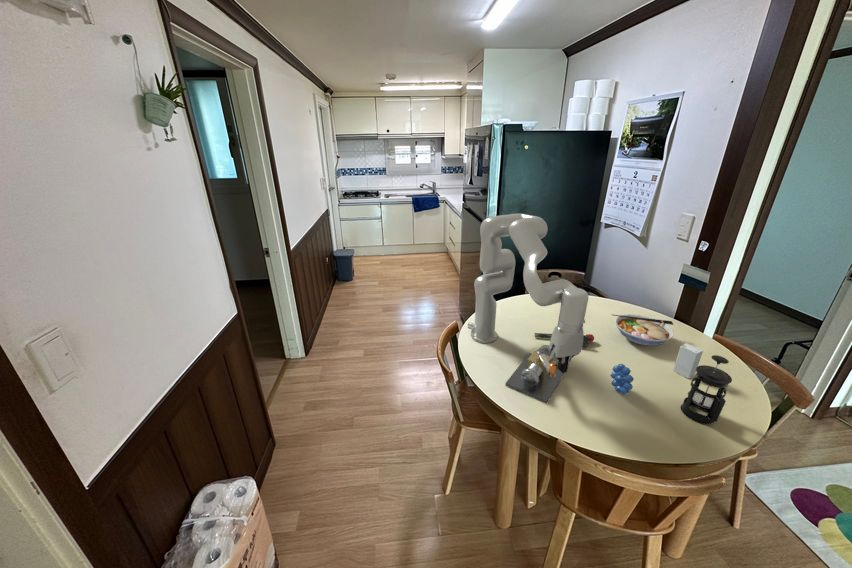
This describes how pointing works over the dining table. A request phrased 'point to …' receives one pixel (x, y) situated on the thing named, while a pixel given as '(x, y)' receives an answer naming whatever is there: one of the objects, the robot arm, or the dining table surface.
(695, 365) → the skincare box
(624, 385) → the grapes
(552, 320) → the dining table surface
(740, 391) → the dining table surface
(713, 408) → the french press
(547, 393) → the valve body
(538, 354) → the lever
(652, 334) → the ramen bowl
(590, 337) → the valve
